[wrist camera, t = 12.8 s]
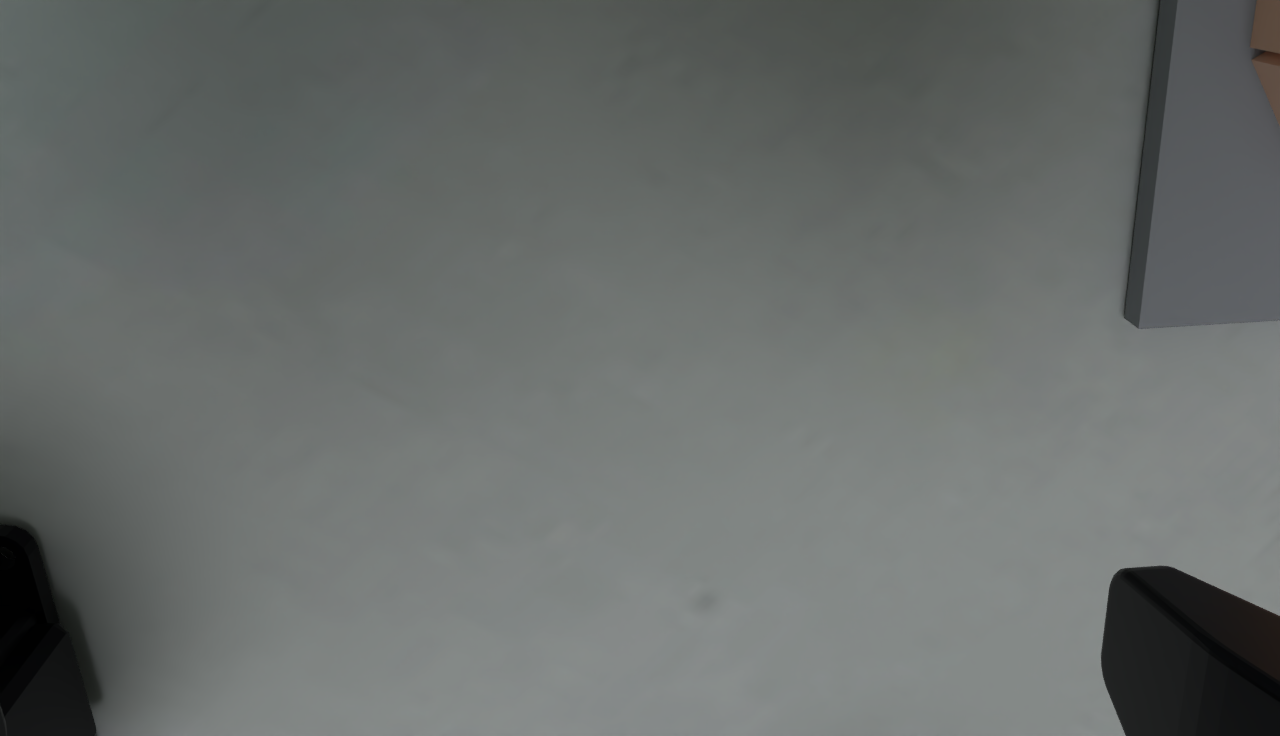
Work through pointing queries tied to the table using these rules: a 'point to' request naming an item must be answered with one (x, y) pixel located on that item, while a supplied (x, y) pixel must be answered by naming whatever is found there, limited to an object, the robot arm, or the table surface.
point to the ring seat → (1210, 169)
